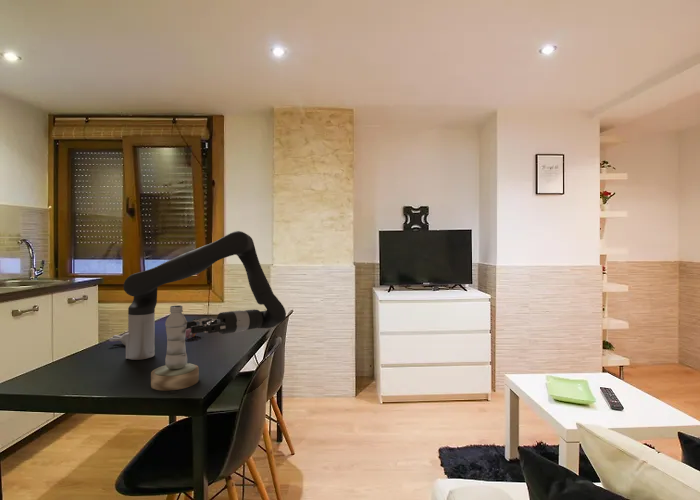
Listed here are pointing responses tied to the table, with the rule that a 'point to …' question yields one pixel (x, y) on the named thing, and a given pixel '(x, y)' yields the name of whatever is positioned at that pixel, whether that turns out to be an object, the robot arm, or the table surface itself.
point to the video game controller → (189, 333)
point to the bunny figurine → (119, 338)
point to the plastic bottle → (176, 338)
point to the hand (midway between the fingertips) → (186, 328)
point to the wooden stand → (174, 377)
